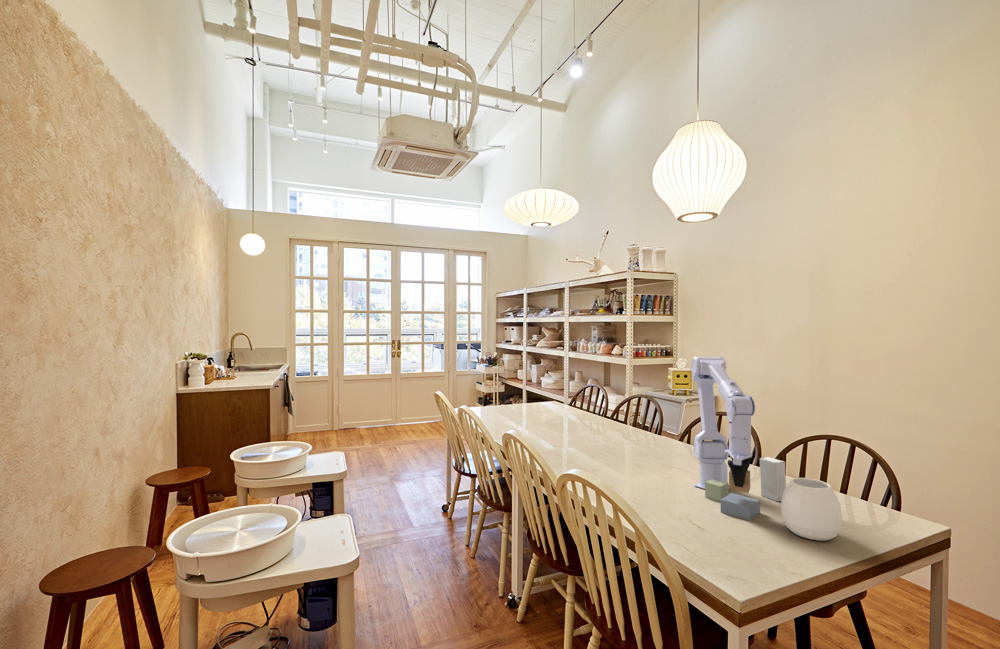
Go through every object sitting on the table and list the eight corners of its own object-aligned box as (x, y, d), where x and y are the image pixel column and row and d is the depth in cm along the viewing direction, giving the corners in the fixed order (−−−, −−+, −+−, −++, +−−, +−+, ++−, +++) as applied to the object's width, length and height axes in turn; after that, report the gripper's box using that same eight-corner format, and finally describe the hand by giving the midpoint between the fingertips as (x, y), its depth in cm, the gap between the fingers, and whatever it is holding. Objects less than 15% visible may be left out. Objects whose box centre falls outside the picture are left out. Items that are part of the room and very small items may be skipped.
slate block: (731, 506, 141) (731, 492, 141) (760, 513, 135) (760, 500, 135) (720, 513, 136) (720, 499, 136) (749, 521, 130) (749, 507, 130)
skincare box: (787, 500, 145) (787, 461, 145) (776, 502, 144) (776, 463, 144) (769, 493, 151) (769, 456, 151) (759, 495, 149) (759, 457, 149)
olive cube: (713, 494, 151) (713, 478, 151) (728, 498, 147) (728, 482, 147) (705, 497, 148) (705, 482, 148) (720, 502, 144) (720, 486, 144)
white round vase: (844, 551, 112) (844, 495, 112) (780, 537, 119) (780, 485, 119) (839, 530, 124) (839, 480, 124) (781, 519, 131) (781, 471, 131)
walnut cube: (731, 484, 139) (731, 467, 139) (750, 487, 136) (750, 470, 136) (729, 489, 135) (729, 472, 135) (748, 492, 132) (748, 475, 132)
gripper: (728, 430, 144) (728, 474, 144) (721, 440, 132) (721, 488, 132) (753, 433, 140) (754, 478, 140) (749, 443, 128) (749, 493, 128)
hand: (740, 483), depth 136 cm, fingers closed on walnut cube, 5 cm apart
